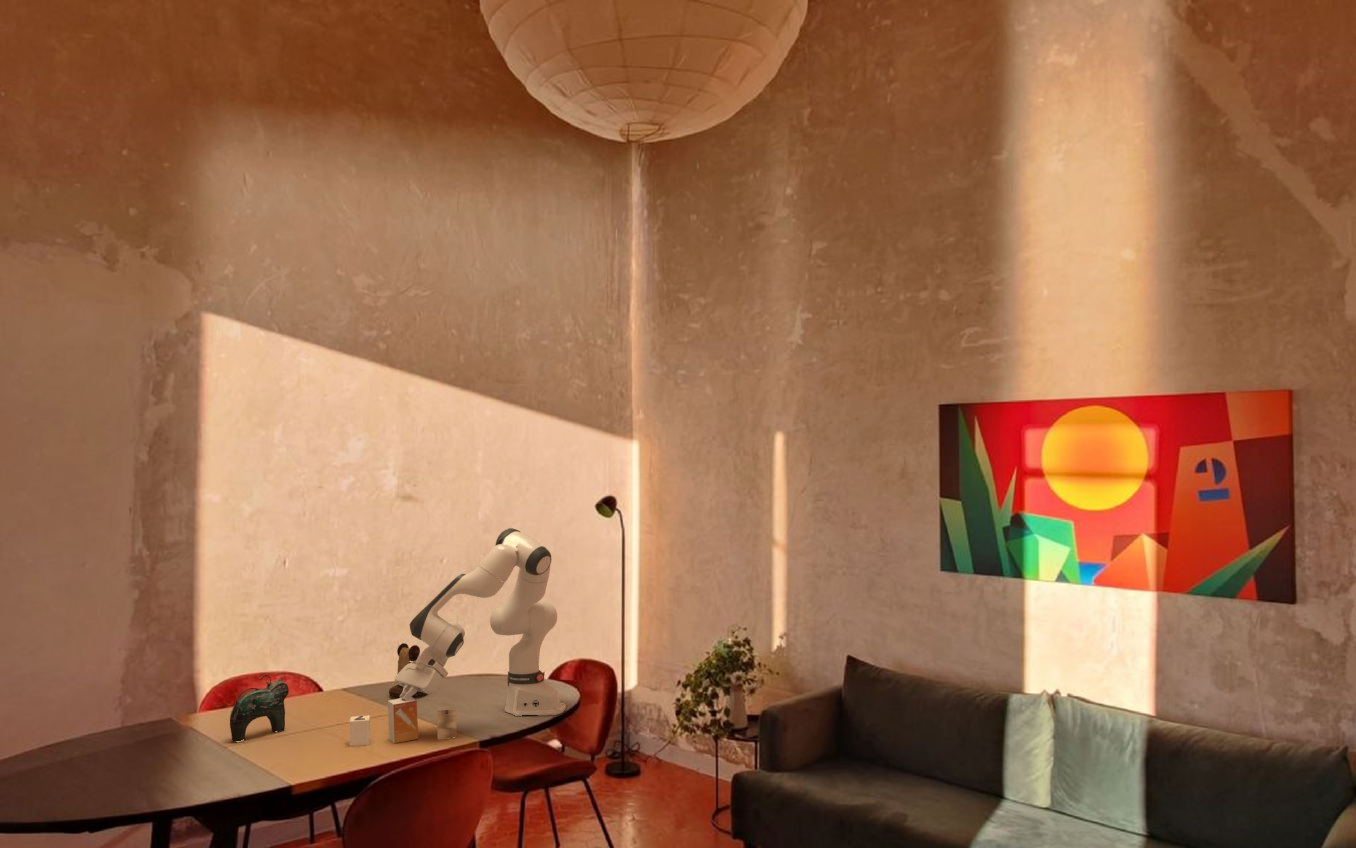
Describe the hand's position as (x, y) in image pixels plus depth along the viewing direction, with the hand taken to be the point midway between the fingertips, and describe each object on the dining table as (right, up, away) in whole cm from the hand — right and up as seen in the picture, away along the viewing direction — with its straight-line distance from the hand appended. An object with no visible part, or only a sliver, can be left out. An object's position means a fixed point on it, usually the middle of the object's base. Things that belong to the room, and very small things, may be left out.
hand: (403, 699), depth 321 cm
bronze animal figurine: (-50, -14, +5) cm, 52 cm away
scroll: (-14, -15, +58) cm, 62 cm away
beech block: (+14, -14, +4) cm, 20 cm away
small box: (0, -14, 0) cm, 14 cm away
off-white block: (-13, -14, -3) cm, 19 cm away
